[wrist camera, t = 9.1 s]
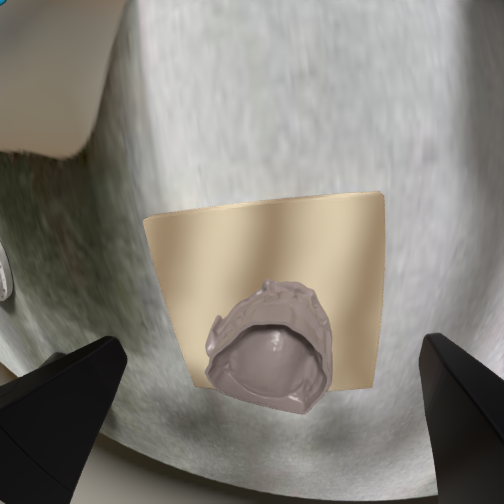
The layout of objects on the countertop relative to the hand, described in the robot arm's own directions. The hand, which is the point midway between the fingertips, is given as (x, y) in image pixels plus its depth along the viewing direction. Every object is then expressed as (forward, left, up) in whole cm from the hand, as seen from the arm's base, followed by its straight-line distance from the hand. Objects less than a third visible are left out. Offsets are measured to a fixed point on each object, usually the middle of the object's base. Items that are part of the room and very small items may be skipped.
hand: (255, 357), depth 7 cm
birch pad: (+2, +5, -10) cm, 12 cm away
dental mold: (+1, +5, -9) cm, 11 cm away
